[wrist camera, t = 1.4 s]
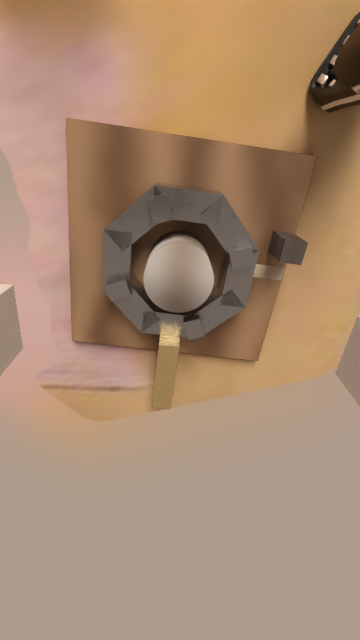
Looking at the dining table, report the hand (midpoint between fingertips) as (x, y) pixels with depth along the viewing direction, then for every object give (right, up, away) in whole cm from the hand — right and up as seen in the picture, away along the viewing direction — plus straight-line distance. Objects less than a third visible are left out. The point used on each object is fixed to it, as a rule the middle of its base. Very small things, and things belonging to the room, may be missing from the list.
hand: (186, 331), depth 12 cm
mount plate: (0, +7, +21) cm, 22 cm away
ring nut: (-1, +3, +21) cm, 22 cm away
